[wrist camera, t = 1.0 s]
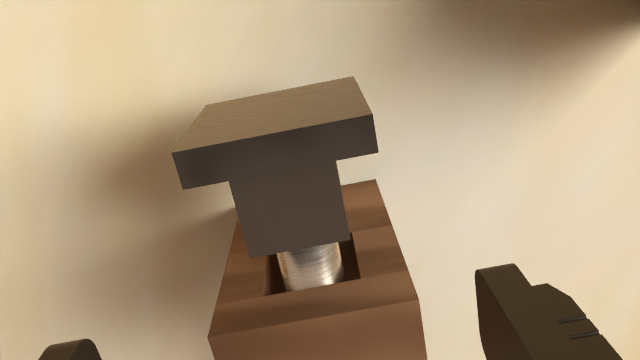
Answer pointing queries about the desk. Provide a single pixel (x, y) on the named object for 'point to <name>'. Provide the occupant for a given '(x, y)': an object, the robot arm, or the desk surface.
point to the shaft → (284, 171)
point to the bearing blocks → (323, 299)
